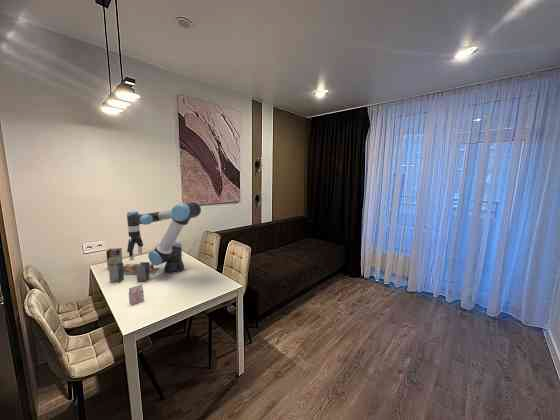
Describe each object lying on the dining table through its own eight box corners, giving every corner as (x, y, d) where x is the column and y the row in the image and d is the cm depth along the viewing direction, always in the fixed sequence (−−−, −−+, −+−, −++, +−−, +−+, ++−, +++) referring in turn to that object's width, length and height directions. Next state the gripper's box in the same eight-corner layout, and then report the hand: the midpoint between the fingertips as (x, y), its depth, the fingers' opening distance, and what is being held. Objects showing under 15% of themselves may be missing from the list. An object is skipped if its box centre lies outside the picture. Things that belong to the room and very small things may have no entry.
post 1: (124, 278, 168) (123, 262, 166) (118, 283, 160) (117, 266, 159) (115, 278, 167) (114, 262, 165) (109, 283, 160) (108, 266, 158)
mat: (159, 268, 188) (159, 267, 187) (153, 273, 177) (153, 273, 177) (120, 269, 183) (120, 268, 183) (112, 275, 173) (112, 274, 173)
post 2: (150, 277, 170) (149, 262, 168) (145, 282, 163) (144, 265, 161) (141, 278, 169) (140, 262, 167) (136, 282, 162) (135, 266, 160)
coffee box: (107, 270, 181) (105, 251, 179) (110, 267, 187) (108, 248, 185) (120, 269, 184) (119, 250, 181) (123, 266, 190) (121, 247, 187)
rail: (153, 269, 184) (153, 263, 183) (151, 271, 179) (151, 265, 178) (122, 270, 181) (121, 264, 180) (118, 272, 176) (118, 266, 175)
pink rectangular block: (129, 302, 136) (128, 287, 135) (141, 298, 142) (140, 283, 140) (131, 305, 134) (130, 289, 133) (144, 300, 139) (143, 285, 138)
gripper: (136, 227, 187) (138, 252, 190) (119, 234, 163) (122, 263, 166) (146, 227, 188) (148, 251, 191) (131, 234, 164) (133, 262, 166)
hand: (136, 257), depth 178 cm, fingers open, 13 cm apart
